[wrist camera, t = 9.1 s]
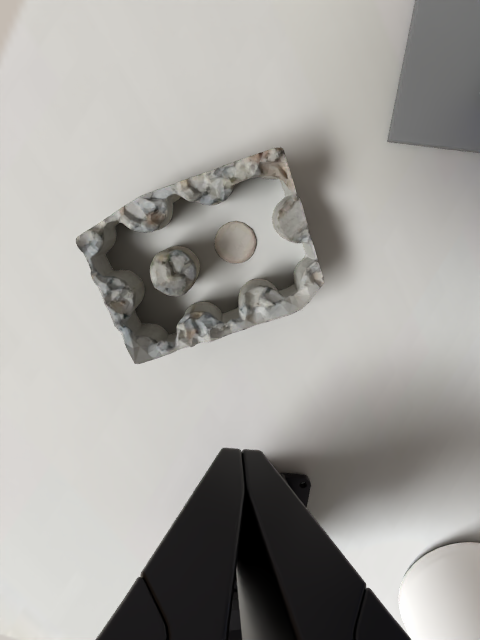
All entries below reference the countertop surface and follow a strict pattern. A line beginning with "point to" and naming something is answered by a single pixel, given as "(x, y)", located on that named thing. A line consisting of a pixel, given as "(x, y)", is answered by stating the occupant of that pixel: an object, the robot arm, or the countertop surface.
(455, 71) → the mat
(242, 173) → the egg carton
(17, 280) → the countertop surface
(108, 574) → the countertop surface
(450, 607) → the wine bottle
